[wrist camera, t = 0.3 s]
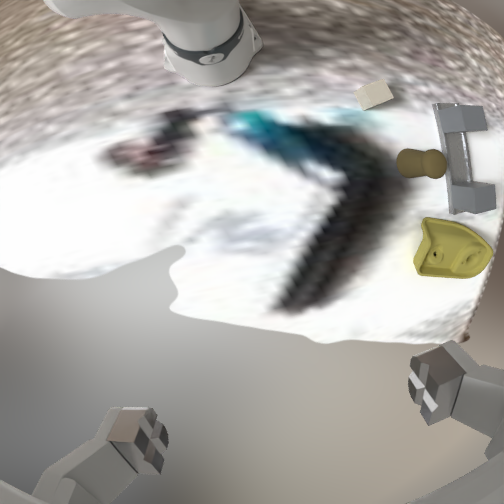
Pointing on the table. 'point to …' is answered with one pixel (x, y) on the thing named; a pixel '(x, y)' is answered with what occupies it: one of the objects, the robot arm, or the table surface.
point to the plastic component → (451, 250)
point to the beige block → (373, 94)
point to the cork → (421, 163)
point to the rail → (454, 156)
